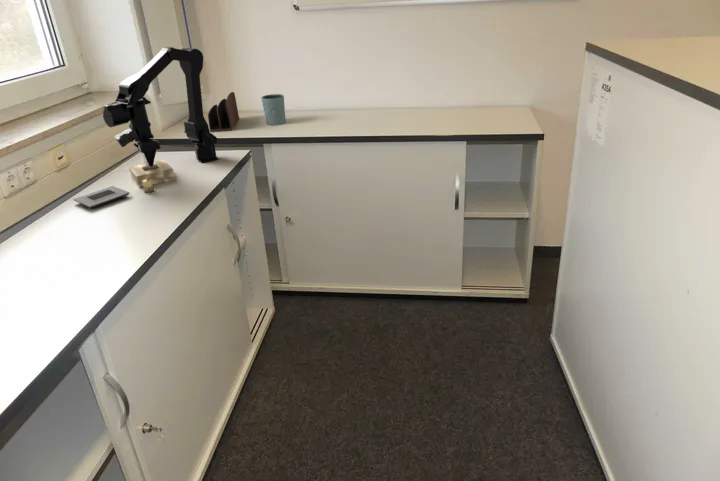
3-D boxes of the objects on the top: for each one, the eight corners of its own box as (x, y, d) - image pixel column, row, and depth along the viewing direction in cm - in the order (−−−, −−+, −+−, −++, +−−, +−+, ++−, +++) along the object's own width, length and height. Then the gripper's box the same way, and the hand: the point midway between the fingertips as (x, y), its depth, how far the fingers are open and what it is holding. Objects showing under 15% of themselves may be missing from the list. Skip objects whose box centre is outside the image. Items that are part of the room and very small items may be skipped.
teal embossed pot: (277, 126, 240) (273, 99, 234) (260, 124, 244) (256, 97, 239) (291, 121, 247) (288, 94, 242) (274, 119, 252) (271, 93, 247)
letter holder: (239, 119, 255) (234, 89, 249) (232, 131, 237) (227, 99, 231) (218, 121, 255) (213, 90, 248) (209, 132, 237) (204, 100, 231)
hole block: (166, 170, 194) (163, 159, 192) (175, 179, 185) (172, 168, 183) (131, 177, 189) (128, 167, 187) (139, 187, 180) (136, 176, 178)
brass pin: (153, 189, 178) (150, 177, 176) (155, 192, 175) (152, 180, 174) (143, 191, 176) (140, 180, 175) (145, 194, 174) (142, 182, 172)
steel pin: (155, 172, 188) (148, 144, 184) (157, 174, 186) (151, 146, 181) (146, 174, 187) (139, 146, 182) (148, 176, 184) (141, 148, 180)
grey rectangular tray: (114, 191, 179) (112, 185, 178) (131, 198, 173) (129, 191, 172) (75, 205, 170) (73, 198, 169) (91, 212, 164) (89, 205, 163)
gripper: (108, 118, 181) (120, 163, 188) (118, 130, 167) (131, 177, 174) (142, 113, 186) (152, 156, 193) (155, 123, 172) (166, 170, 179)
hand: (150, 164), depth 185 cm, fingers closed on steel pin, 3 cm apart
